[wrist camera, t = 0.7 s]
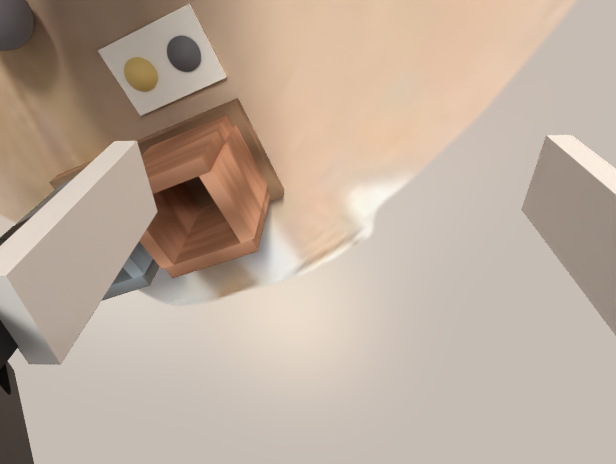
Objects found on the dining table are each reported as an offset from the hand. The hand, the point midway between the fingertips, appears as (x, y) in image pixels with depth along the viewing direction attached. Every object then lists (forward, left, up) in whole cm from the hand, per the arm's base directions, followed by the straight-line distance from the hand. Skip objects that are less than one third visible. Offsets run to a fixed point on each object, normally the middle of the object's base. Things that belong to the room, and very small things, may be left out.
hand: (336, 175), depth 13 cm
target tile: (-4, -14, -24) cm, 28 cm away
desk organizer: (+6, -20, -24) cm, 32 cm away
